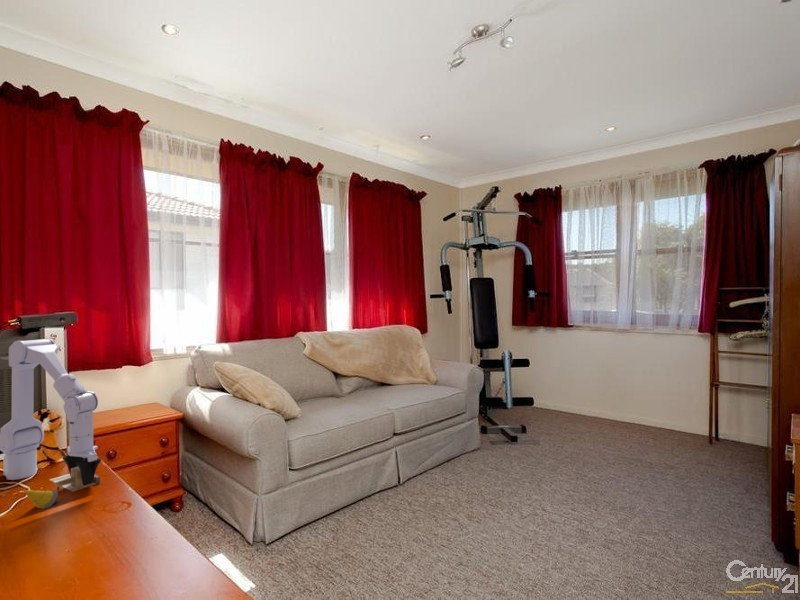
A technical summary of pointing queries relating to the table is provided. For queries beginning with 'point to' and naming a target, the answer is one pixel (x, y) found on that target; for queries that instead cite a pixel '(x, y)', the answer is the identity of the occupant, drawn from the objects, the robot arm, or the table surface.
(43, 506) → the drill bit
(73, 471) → the block
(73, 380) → the robot arm
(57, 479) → the board
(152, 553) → the table surface
